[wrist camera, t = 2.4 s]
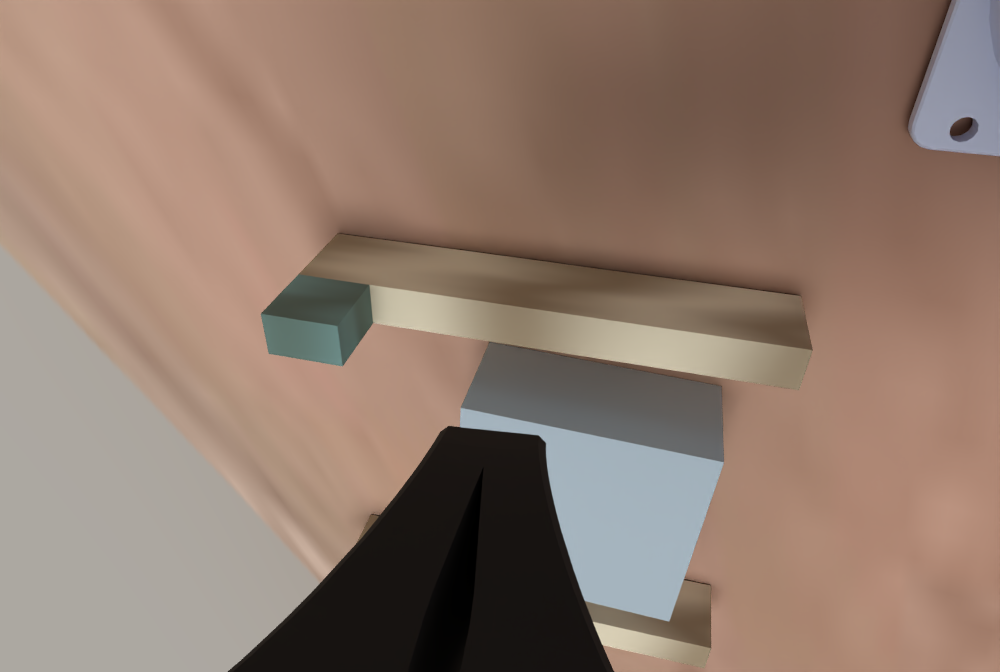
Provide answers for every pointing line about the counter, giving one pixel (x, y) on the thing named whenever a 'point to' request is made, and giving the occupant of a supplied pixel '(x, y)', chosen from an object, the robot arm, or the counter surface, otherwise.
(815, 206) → the counter surface
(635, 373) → the block
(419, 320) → the channel
